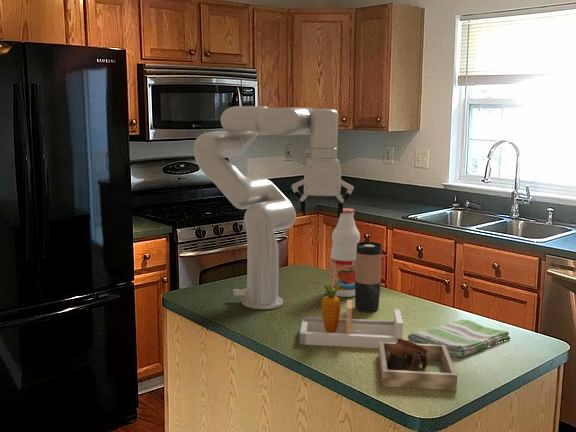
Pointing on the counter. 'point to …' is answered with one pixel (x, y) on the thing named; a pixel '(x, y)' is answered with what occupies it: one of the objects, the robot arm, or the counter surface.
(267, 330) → the counter surface
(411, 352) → the pottery mug
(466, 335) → the dish towel
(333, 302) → the carrot
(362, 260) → the travel mug
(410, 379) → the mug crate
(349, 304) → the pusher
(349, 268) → the fruit juice
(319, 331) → the frame
